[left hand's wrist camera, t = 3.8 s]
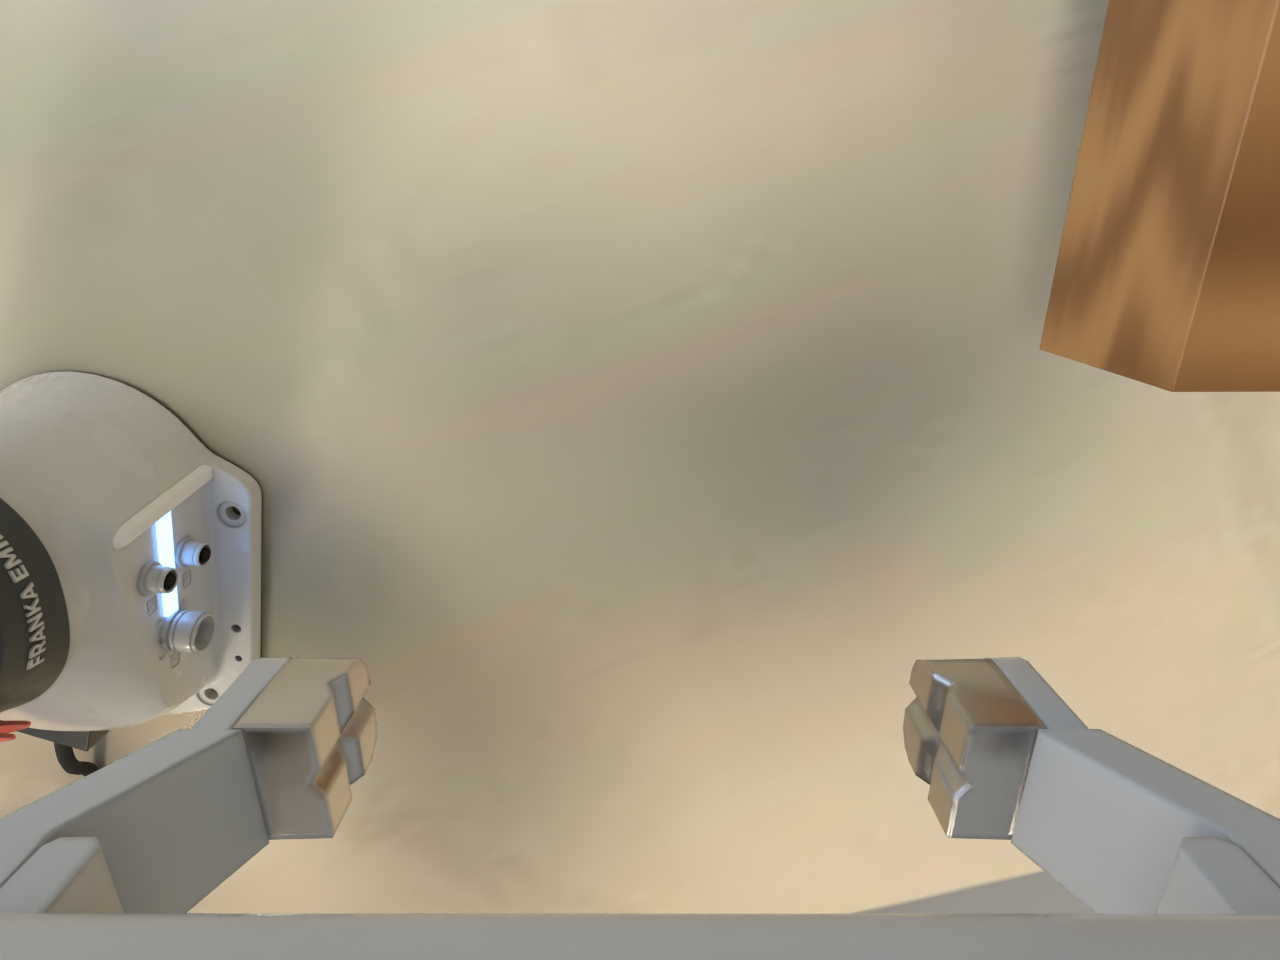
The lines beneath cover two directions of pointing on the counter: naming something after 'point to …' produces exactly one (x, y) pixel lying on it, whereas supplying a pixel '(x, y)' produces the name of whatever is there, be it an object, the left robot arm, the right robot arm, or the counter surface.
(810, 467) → the counter surface
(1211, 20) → the bar
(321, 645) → the counter surface
